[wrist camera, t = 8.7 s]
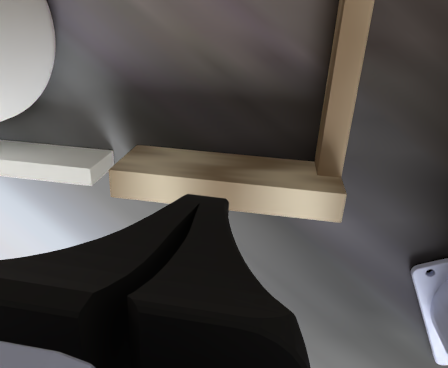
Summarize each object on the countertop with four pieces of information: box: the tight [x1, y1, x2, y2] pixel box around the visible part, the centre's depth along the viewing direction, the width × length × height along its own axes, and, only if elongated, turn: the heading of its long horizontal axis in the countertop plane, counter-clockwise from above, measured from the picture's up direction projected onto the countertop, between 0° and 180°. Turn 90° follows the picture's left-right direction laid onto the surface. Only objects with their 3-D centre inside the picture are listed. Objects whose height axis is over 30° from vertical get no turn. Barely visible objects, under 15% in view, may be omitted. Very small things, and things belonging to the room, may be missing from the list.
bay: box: [109, 0, 375, 223], centre depth 18 cm, size 12×15×4 cm
